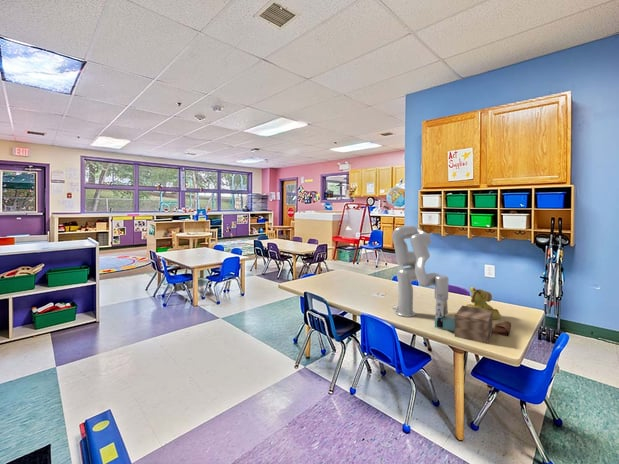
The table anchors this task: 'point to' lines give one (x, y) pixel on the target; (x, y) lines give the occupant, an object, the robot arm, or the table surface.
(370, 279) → the table surface
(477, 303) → the giraffe plush
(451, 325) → the teal block
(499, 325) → the sunglasses case
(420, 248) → the robot arm
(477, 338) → the brown wooden block
